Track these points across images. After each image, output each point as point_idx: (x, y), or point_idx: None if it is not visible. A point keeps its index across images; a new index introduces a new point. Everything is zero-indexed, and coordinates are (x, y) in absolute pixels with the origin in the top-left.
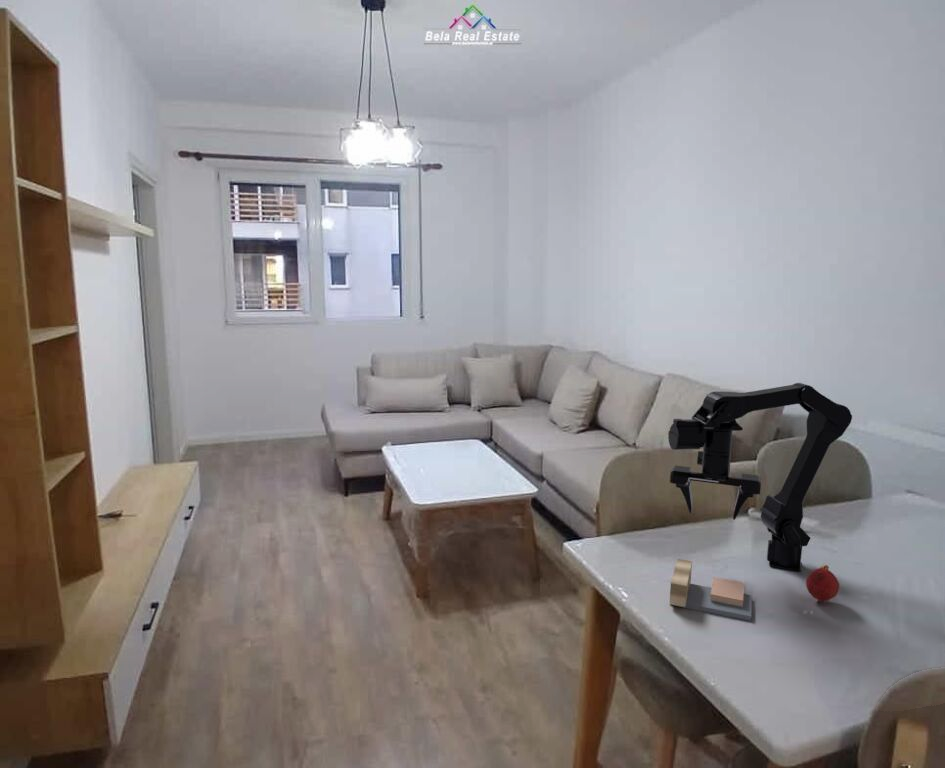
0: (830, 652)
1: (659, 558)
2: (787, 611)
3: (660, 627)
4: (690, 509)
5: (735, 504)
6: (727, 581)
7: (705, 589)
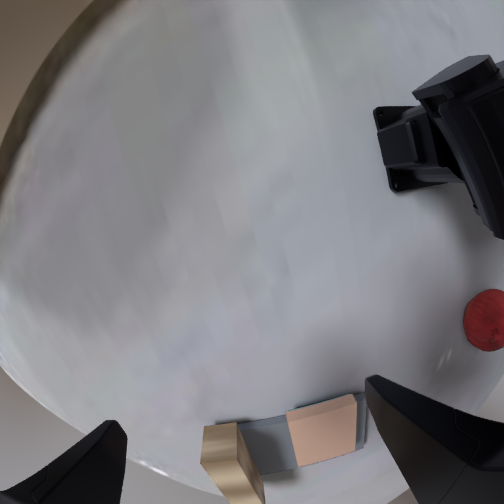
0: None
1: (110, 329)
2: (417, 381)
3: None
4: (120, 459)
5: (415, 450)
6: (321, 420)
7: (276, 433)
